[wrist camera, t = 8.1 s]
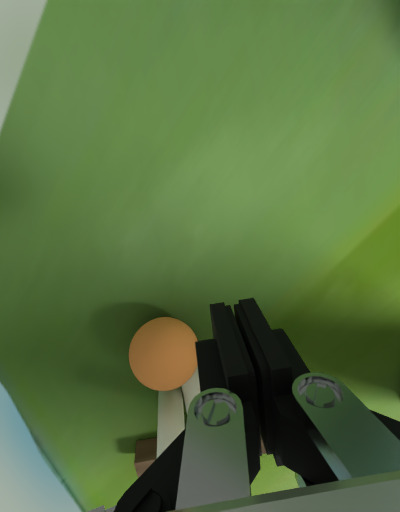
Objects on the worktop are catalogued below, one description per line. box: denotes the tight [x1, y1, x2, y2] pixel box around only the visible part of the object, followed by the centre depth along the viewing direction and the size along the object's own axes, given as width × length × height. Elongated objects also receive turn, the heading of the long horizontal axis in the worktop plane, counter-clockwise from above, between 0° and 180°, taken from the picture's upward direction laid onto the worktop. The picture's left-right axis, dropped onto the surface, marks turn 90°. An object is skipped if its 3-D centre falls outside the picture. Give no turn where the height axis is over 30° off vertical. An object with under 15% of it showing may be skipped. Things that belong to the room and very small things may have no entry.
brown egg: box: [129, 317, 198, 391], centre depth 26 cm, size 6×6×6 cm
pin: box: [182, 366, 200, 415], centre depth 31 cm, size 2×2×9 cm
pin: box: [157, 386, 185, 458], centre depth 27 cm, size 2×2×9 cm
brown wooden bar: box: [134, 435, 266, 477], centre depth 32 cm, size 2×14×2 cm, turn 96°
